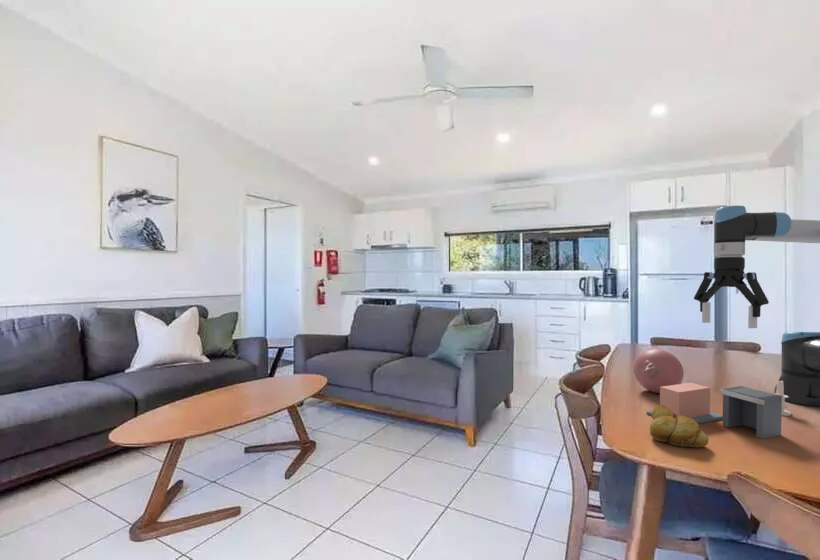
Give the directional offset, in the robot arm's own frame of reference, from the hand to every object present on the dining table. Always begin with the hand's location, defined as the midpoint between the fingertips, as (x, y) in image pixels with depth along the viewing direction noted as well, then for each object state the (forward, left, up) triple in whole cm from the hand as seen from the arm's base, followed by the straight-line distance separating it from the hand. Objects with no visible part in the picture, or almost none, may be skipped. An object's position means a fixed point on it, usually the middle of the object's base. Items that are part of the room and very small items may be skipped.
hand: (728, 325), depth 129 cm
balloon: (+5, -21, -27) cm, 34 cm away
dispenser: (+11, +13, -27) cm, 31 cm away
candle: (-13, +7, -27) cm, 31 cm away
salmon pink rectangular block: (+17, -1, -26) cm, 31 cm away
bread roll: (+37, +12, -27) cm, 47 cm away
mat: (+17, -1, -27) cm, 32 cm away
